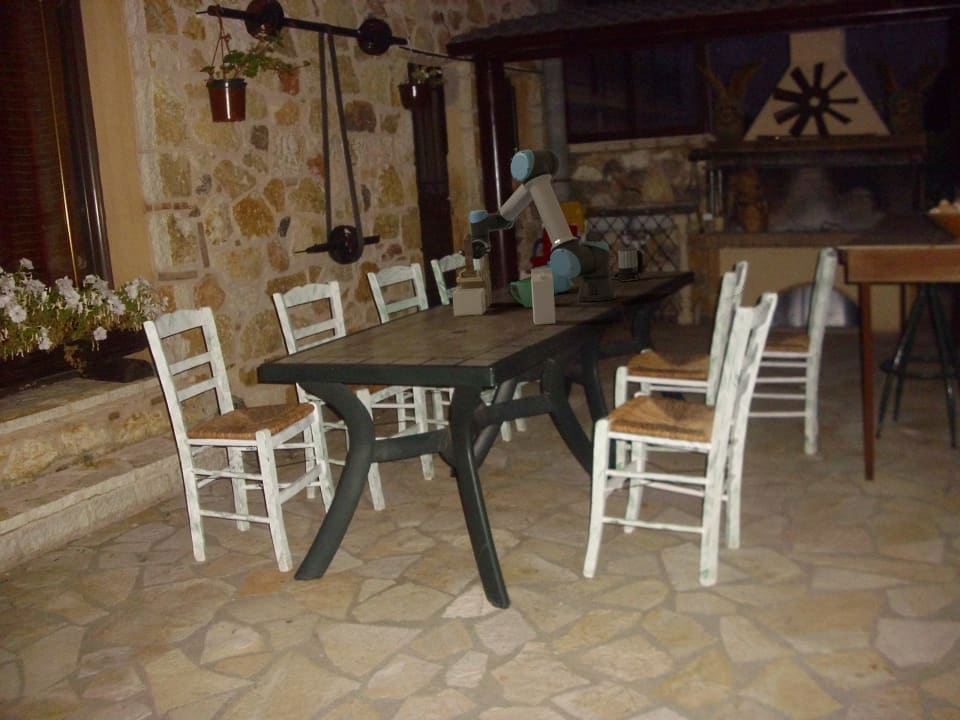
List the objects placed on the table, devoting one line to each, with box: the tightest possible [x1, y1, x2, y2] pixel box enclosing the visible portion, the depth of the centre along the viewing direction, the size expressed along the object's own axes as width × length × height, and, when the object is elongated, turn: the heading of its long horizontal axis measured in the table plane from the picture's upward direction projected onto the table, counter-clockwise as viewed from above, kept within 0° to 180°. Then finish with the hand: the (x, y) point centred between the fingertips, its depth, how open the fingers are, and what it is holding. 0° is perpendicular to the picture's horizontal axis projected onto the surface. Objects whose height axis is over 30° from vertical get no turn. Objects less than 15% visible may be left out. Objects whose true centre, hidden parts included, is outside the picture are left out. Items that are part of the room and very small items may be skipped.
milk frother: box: [610, 246, 644, 280], centre depth 439 cm, size 14×16×15 cm
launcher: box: [455, 265, 493, 309], centre depth 382 cm, size 22×10×16 cm, turn 172°
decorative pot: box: [533, 261, 574, 295], centre depth 412 cm, size 16×16×14 cm
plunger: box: [462, 232, 478, 277], centre depth 372 cm, size 4×5×17 cm
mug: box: [507, 279, 533, 308], centre depth 378 cm, size 15×10×10 cm
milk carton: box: [530, 268, 556, 326], centre depth 332 cm, size 7×7×19 cm
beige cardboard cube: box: [451, 288, 487, 317], centre depth 369 cm, size 11×11×9 cm
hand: (468, 254), depth 374 cm, fingers closed
